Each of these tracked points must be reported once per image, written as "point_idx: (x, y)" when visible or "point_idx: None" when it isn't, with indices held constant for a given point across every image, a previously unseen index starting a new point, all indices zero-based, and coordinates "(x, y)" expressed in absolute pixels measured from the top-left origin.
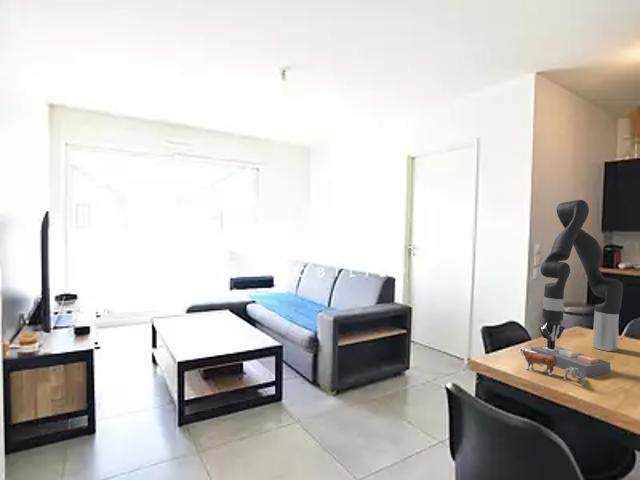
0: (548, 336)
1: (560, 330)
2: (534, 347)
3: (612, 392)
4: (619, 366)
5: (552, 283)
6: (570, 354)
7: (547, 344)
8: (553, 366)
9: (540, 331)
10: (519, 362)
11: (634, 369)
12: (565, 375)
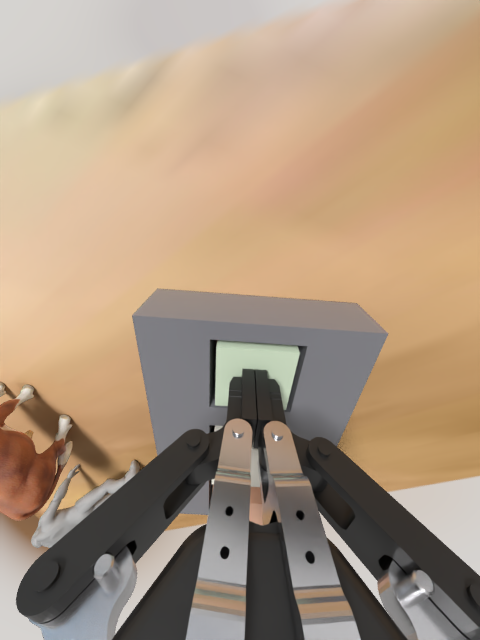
0: (170, 495)
1: (374, 571)
2: (166, 320)
3: None
4: (409, 467)
5: None
6: (212, 479)
7: (229, 392)
8: (61, 465)
9: (90, 514)
10: (19, 322)
11: (413, 487)
12: (59, 490)
